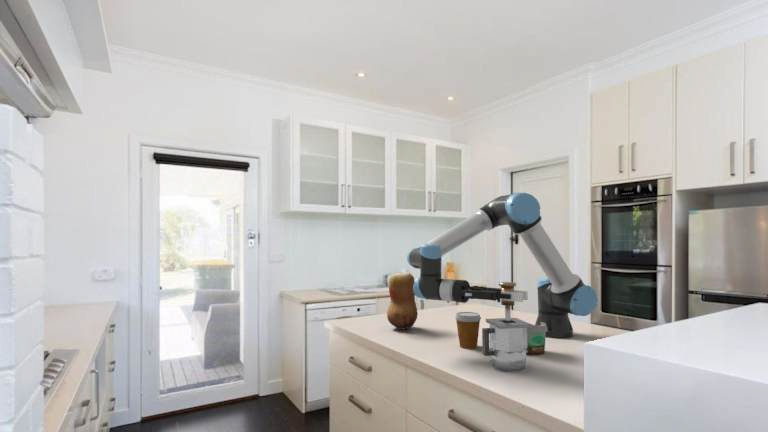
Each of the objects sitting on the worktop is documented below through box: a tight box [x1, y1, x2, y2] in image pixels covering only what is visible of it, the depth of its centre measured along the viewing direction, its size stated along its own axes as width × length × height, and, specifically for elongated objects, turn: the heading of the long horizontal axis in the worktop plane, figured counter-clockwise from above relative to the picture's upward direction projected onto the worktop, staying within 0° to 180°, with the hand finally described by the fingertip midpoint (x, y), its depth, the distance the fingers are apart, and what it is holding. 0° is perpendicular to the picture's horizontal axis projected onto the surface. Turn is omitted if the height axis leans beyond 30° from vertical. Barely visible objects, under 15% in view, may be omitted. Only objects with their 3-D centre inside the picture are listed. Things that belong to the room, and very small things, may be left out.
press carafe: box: [481, 317, 533, 373], centre depth 131 cm, size 13×10×14 cm
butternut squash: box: [386, 271, 418, 330], centre depth 185 cm, size 14×13×25 cm
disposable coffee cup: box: [454, 311, 482, 350], centre depth 155 cm, size 10×10×12 cm
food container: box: [526, 322, 548, 357], centre depth 145 cm, size 12×6×10 cm, turn 117°
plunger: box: [498, 281, 517, 323], centre depth 132 cm, size 8×8×18 cm
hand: (524, 296), depth 129 cm, fingers closed on plunger, 4 cm apart
